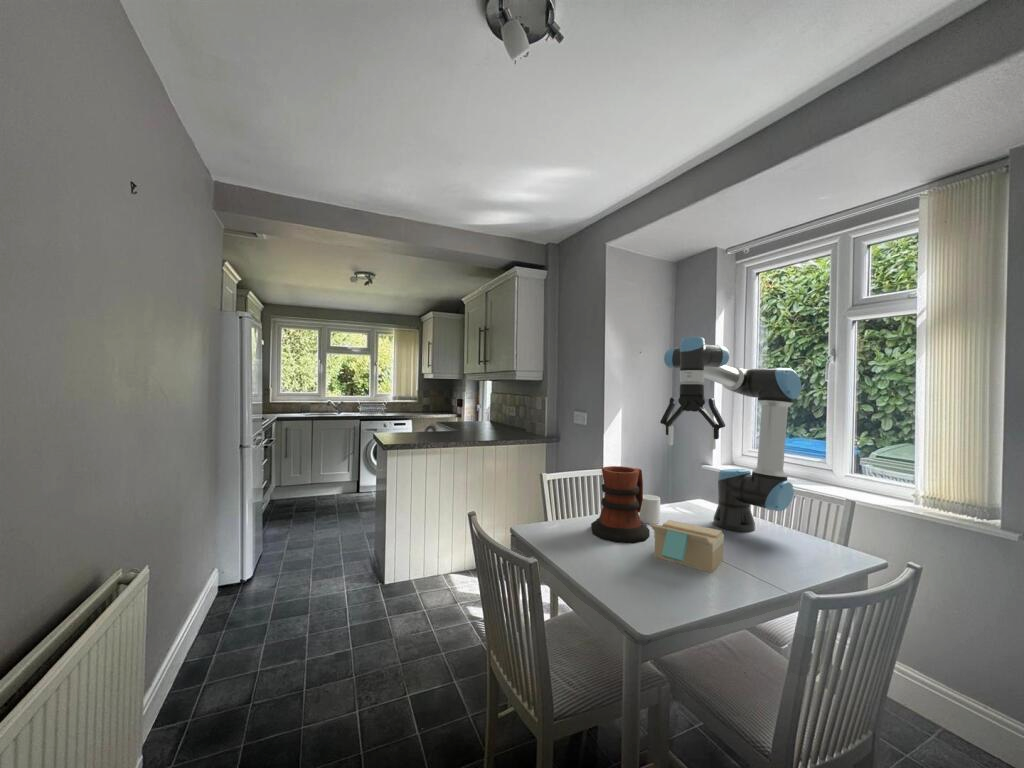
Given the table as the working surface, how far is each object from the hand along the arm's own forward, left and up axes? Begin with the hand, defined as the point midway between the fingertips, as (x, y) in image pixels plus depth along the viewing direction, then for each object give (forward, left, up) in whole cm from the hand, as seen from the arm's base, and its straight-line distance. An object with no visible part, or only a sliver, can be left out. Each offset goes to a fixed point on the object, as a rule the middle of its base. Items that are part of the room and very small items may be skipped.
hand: (691, 447), depth 141 cm
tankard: (-7, -28, -37) cm, 47 cm away
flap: (+10, 0, -26) cm, 28 cm away
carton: (+2, 0, -37) cm, 37 cm away
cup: (-28, -27, -37) cm, 54 cm away
